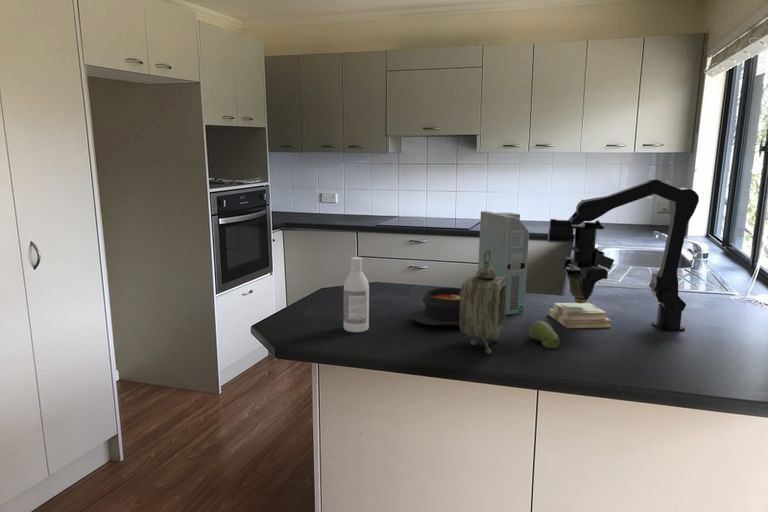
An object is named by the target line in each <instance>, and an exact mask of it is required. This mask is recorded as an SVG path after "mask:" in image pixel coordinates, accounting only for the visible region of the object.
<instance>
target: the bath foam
mask: <svg viewBox="0 0 768 512" xmlns="http://www.w3.org/2000/svg"><path fill="white" fill-rule="evenodd" d="M350 263H351V266H350V267H351V268H350V269H351V270H350V272H349V273H348V276H347V277H346V279H345V280H344V283H343V284H344V285H343V329H344V330H345V331H346V332H349V333H363V332H366V331H368V330H369V327H370V285H369V281H368V279H367V277H366V276H365V274H364V272H363V258H362V257H360V256H359V257H358V256H357V257H356V256H354V257H351V258H350Z"/></svg>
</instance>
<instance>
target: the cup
mask: <svg viewBox="0 0 768 512" xmlns="http://www.w3.org/2000/svg"><path fill="white" fill-rule="evenodd" d="M579 276H582V275H581V274H579V275H578V274H574V275H573V276H572V274H571V276H570V275H569V280H568V282H569V283H568V284H569V292H570V294H571V296H573V297H574V298H573V301H574V303H581V304H583V303H588V299H587V300H585V299H584V297H583V294H582V289H581V285H580V281H579ZM594 289H595V286H594V287H593V289H592V291H591V294H590V296H589V298H590V297H591V296H592V295H593V292H594Z"/></svg>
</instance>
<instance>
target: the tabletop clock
mask: <svg viewBox="0 0 768 512" xmlns="http://www.w3.org/2000/svg"><path fill="white" fill-rule="evenodd" d="M487 253H489V259H488V261H487V260H486V261H485V259H486V255H487ZM490 258H491V252H490V250H489V249H487V250H486V251H485V253H484V260H483V263H484V266H485V267H483V268H480V269H479V270H478V269H477V271H476V273H475V275H474V276H471V277H469V278H468V279H466V280H465V282H463V283H462V286H461V288H460V289H461V296H460V320H459V326H458V327H459V331H461V333H463V334H464V335H465V336H467V337H474V338H473V339H471V341H470V345H472V346H476V345H477V344H478V341H477V338H481V339H482V340H483V343H484V345H485V349H484V353H485V354H486V355H491V353H492V349H491V347H489V343H488V339H490V340H491V339H493V341H495V342H499V340H500V336H501V334H502V333H503V331H504V327H505V324H506V300H507V278H505V277H497V275H496V273H495V271H494V270H493V269H492V268H489V263H490Z"/></svg>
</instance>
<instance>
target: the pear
mask: <svg viewBox="0 0 768 512" xmlns="http://www.w3.org/2000/svg"><path fill="white" fill-rule="evenodd" d="M528 329H529V330H528V332H529V333H528V334H529V335H530V337H531V338H532V340H535V341H540V342H541V345H542V346H543V347H544V348H546V349H554V348H555V349H557V348H559V345H560V343H561V340H560V337H559V335H558V333H556V332H555V330H554V328H553V326H552V325H551V324H549V323H547V322H546V321H543V320H535V321H533V322H532V323H531V324H530V325H529V328H528Z"/></svg>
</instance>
